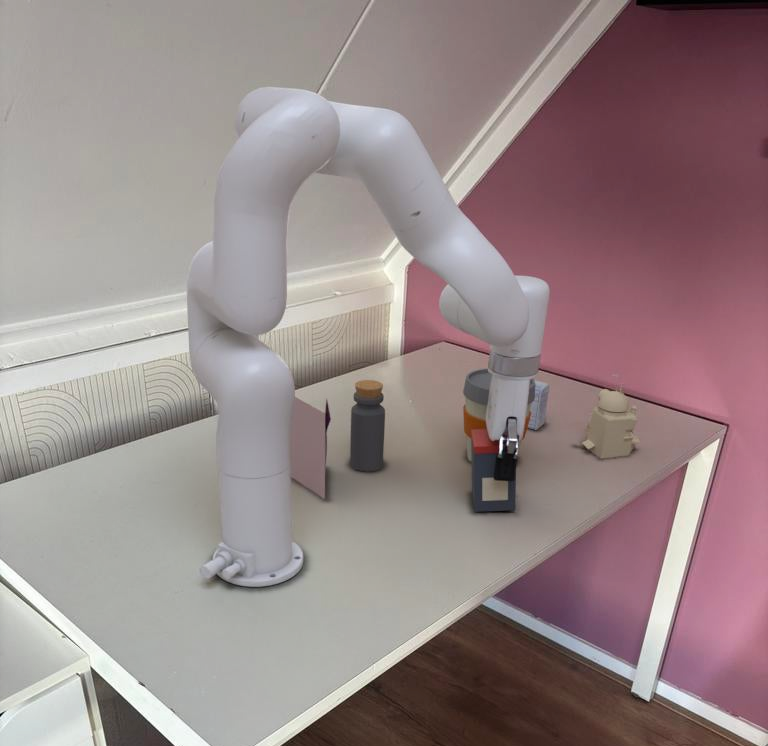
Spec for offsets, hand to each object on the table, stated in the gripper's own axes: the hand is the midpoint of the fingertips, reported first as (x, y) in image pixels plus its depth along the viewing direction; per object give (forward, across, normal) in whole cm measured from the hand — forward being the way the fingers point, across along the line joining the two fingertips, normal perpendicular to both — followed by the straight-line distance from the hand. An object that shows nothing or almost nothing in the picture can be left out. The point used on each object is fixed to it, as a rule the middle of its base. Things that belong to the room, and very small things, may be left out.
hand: (500, 466), depth 128 cm
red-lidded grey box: (+1, 0, -4) cm, 4 cm away
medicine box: (+7, -36, +9) cm, 37 cm away
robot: (+7, -25, +23) cm, 35 cm away
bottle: (+7, -13, -22) cm, 26 cm away
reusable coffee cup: (+7, -18, +1) cm, 20 cm away
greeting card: (+7, -4, -31) cm, 32 cm away
